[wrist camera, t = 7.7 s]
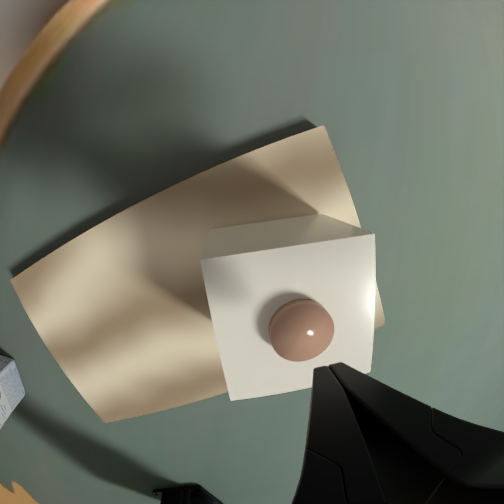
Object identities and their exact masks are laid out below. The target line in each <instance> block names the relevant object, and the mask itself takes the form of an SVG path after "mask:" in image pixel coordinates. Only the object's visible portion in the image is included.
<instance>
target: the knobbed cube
mask: <svg viewBox="0 0 504 504" xmlns="http://www.w3.org/2000/svg"><path fill="white" fill-rule="evenodd" d="M200 262H201V267H202V273H203V278H204V283H205V288H206V294H207V299H208V304H209V308H210V313H211V318H212V323H213V327H214V332H215V337H216V341H217V346H218V350H219V355H220V359H221V363H222V368H223V372H224V376H225V380H226V384H227V388H228V392H229V396H230V400H231V401H233V400H241V399H248V398H255V397H262V396H268V395H274V394H280V393H285V392H290V391H295V390H300V389H305V388H310V387H312V380H313V369H314V368H316V367H321V366H329V365H330V364H334V363H338V362H343V363H345V364H347V365H349V366H350V367H352V368H354V369H356V370H358V371H360V372H362V373H364V374H365V373H369V372H370V371H371V361H372V349H373V336H374V318H375V282H376V264H375V234H374V233H372V232H369V231H367V230H364V229H361V228H359V227H356V226H354V225H351V224H348V223H346V222H343V221H340V220H338V219H335V218H332V217H329V216H327V215H324V214H317V215H309V216H301V217H294V218H286V219H279V220H272V221H264V222H257V223H250V224H243V225H237V226H230V227H223V228H216V229H211V230H210V232H209V235H208V238H207V241H206V244H205V247H204V250H203V253H202V256H201V258H200Z"/></svg>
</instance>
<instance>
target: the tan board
mask: <svg viewBox="0 0 504 504" xmlns="http://www.w3.org/2000/svg"><path fill="white" fill-rule="evenodd" d="M317 214H324V215H327V216H329V217H332V218H335V219H338V220H340V221H343V222H346V223H348V224H351V225H354V226H356V227H359V228H361V226H360V223H359V220H358V216H357V213H356V210H355V207H354V204H353V201H352V198H351V195H350V192H349V189H348V187H347V184H346V181H345V178H344V175H343V173H342V170H341V167H340V165H339V162H338V159H337V157H336V154H335V152H334V149H333V147H332V144H331V142H330V139H329V137H328V134H327V132H326V129H325V127H324V125H323V126H320V127H317V128H314V129H311V130H308V131H305V132H302V133H299V134H296V135H294V136H291V137H288V138H285V139H283V140H280V141H277V142H274V143H272V144H269V145H267V146H264V147H261V148H259V149H256V150H254V151H251V152H249V153H246V154H244V155H241V156H239V157H236V158H234V159H231V160H229V161H227V162H224V163H222V164H220V165H217V166H215V167H213V168H210V169H208V170H206V171H204V172H201V173H199V174H197V175H195V176H193V177H190V178H188V179H186V180H184V181H182V182H180V183H178V184H175V185H173V186H171V187H169V188H167V189H165V190H163V191H161V192H159V193H157V194H155V195H153V196H151V197H149V198H147V199H145V200H143V201H141V202H139V203H137V204H135V205H133V206H131V207H129V208H128V209H126V210H124V211H122V212H120V213H118V214H116V215H115V216H113V217H111V218H109V219H107V220H105V221H104V222H102V223H100V224H98V225H97V226H95V227H93V228H91V229H90V230H88V231H86V232H84V233H83V234H81V235H79V236H78V237H76V238H74V239H73V240H71V241H69V242H68V243H66V244H64V245H63V246H61V247H60V248H58V249H56V250H55V251H53V252H52V253H50V254H48V255H47V256H45V257H44V258H42V259H41V260H39V261H38V262H36V263H35V264H33V265H32V266H30V267H29V268H27V269H26V270H24V271H23V272H21V273H20V274H18V275H17V276H16V277H14V278H13V279H11V280H10V281H11V283H12V285H13V287H14V289H15V291H16V293H17V295H18V297H19V299H20V301H21V303H22V305H23V307H24V309H25V310H26V312H27V314H28V316H29V318H30V320H31V321H32V323H33V325H34V326H35V328H36V330H37V332H38V333H39V335H40V337H41V338H42V340H43V341H44V343H45V345H46V346H47V348H48V349H49V351H50V352H51V354H52V355H53V357H54V358H55V360H56V361H57V363H58V364H59V366H60V367H61V368H62V370H63V371H64V373H65V374H66V375H67V377H68V378H69V379H70V381H71V382H72V383H73V385H74V386H75V387H76V389H77V390H78V391H79V393H80V394H81V395H82V396H83V398H84V399H85V400H86V401H87V402H88V404H89V405H90V406H91V407H92V408H93V410H94V411H95V412H96V413H97V414H98V415H99V417H100V418H101V419H102V420H103V421H104V422H105V423H106V422H112V421H117V420H122V419H127V418H132V417H137V416H141V415H146V414H150V413H154V412H159V411H163V410H167V409H171V408H174V407H178V406H182V405H186V404H189V403H193V402H196V401H200V400H203V399H206V398H210V397H213V396H216V395H219V394H222V393H225V392H228V388H227V384H226V380H225V376H224V372H223V368H222V363H221V359H220V355H219V350H218V346H217V341H216V337H215V332H214V327H213V323H212V318H211V313H210V308H209V304H208V299H207V294H206V288H205V283H204V278H203V273H202V267H201V262H200V258H201V256H202V253H203V250H204V247H205V244H206V241H207V238H208V235H209V232H210V230H211V229H216V228H223V227H230V226H237V225H243V224H250V223H257V222H264V221H272V220H279V219H286V218H294V217H301V216H309V215H317ZM384 324H386V323H385V318H384V313H383V309H382V304H381V300H380V296H379V292H378V287H377V283H376V282H375V318H374V330H375V329H377V328H379V327H381V326H383V325H384Z"/></svg>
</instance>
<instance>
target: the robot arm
mask: <svg viewBox="0 0 504 504" xmlns="http://www.w3.org/2000/svg"><path fill="white" fill-rule="evenodd" d="M152 494H153V495H154V496H156V497H157V498H158V499H160V500H161V503H160V504H223V503H222V502H220V501H219V500H218V499H216V498H215V497H214V496H212V495H211V494H210V493H209V492H207V491H206V490H205V489H204V488H202V487H201V486H197V485H196V486H188V487H181V488H172V489H161V490H153V492H152ZM292 504H504V432H502V431H498V430H494V429H491V428H487V427H484V426H480V425H477V424H473V423H470V422H467V421H464V420H462V419H459V418H456V417H454V416H451V415H449V414H446V413H444V412H442V411H440V410H437V409H435V408H432V409H431V406H429V405H426V404H424V403H422V402H420V401H418V400H416V399H414V398H412V397H410V396H408V395H406V394H404V393H401V392H399V391H397V390H395V389H393V388H391V387H389V386H387V385H385V384H383V383H381V382H379V381H377V380H375V379H374V378H372V377H370V376H368V375H366V374H364V373H362V372H360V371H358V370H356V369H354V368H352V367H350V366H349V365H347V364H345V363H343V362H338V363H334V364H330V365H329V366H321V367H316V368H314V369H313V380H312V392H311V402H310V412H309V421H308V430H307V439H306V447H305V453H304V460H303V466H302V471H301V476H300V480H299V483H298V486H297V490H296V493H295V496H294V498H293V501H292Z"/></svg>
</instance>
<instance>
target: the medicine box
mask: <svg viewBox="0 0 504 504" xmlns="http://www.w3.org/2000/svg"><path fill="white" fill-rule="evenodd" d="M24 395H25V390H24V387H23V384H22V381H21V378H20V375H19V372H18V369H17V366H16V363H15V361H14V360H13V359H11V358H8V357H5V356H2V355H0V428H1V427H2V425H3V424H4V422H5V421H6V420H7V418H8V417H9V415H10V414H11V413H12V411H13V410H14V409H15V407H16V406H17V405H18V403H19V402H20V401H21V399H22V398H23V397H24Z"/></svg>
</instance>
